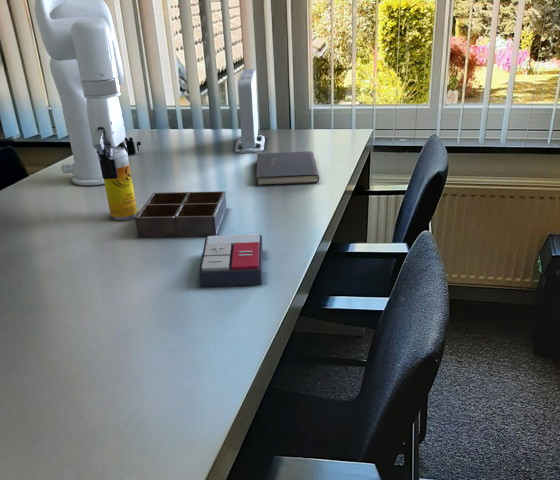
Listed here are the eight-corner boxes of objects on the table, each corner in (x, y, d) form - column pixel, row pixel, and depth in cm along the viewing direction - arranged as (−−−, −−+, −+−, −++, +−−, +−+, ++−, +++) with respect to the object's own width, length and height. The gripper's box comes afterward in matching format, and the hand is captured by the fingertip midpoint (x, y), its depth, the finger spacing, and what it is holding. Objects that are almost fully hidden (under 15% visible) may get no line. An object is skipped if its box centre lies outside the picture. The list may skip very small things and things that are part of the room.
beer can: (131, 221, 140) (119, 153, 132) (106, 220, 141) (93, 152, 133) (141, 212, 145) (130, 146, 137) (117, 211, 146) (105, 145, 138)
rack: (138, 237, 132) (134, 218, 129) (155, 210, 146) (153, 192, 143) (216, 236, 130) (214, 216, 128) (226, 209, 144) (225, 191, 142)
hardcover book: (256, 186, 159) (256, 177, 157) (257, 161, 178) (257, 153, 176) (319, 183, 158) (319, 174, 157) (313, 159, 178) (313, 151, 176)
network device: (262, 154, 184) (259, 81, 173) (233, 155, 184) (227, 82, 173) (265, 134, 205) (262, 68, 194) (239, 135, 205) (234, 69, 194)
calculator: (198, 268, 108) (205, 232, 120) (200, 290, 111) (207, 253, 123) (261, 266, 108) (261, 230, 120) (262, 287, 110) (262, 251, 123)
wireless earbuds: (142, 153, 191) (139, 136, 188) (142, 155, 189) (139, 137, 186) (119, 154, 190) (116, 137, 188) (118, 156, 188) (115, 139, 185)
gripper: (96, 83, 135) (111, 163, 145) (69, 96, 121) (88, 184, 130) (130, 81, 135) (143, 162, 144) (106, 94, 120) (122, 183, 130)
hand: (116, 172), depth 137 cm, fingers open, 9 cm apart
